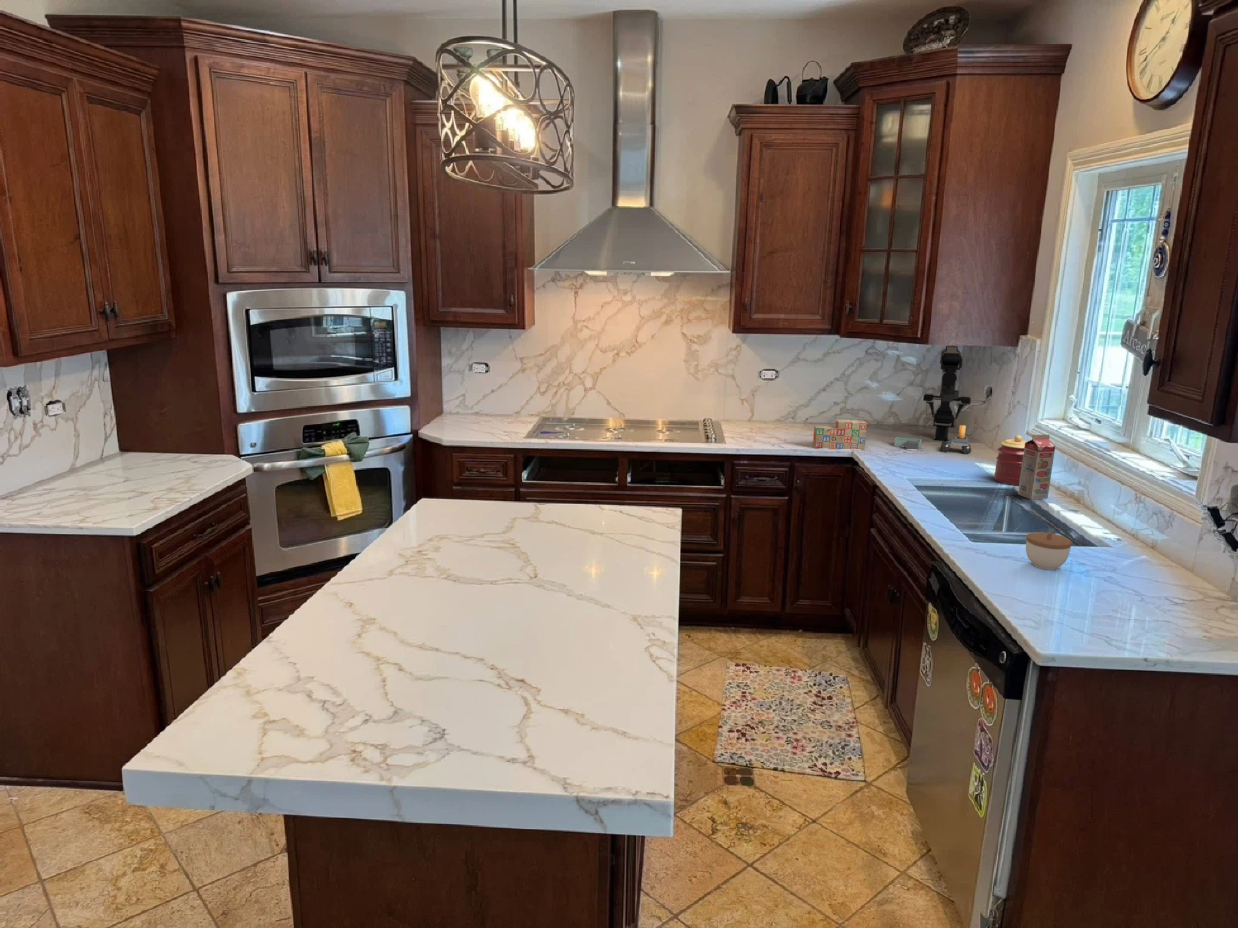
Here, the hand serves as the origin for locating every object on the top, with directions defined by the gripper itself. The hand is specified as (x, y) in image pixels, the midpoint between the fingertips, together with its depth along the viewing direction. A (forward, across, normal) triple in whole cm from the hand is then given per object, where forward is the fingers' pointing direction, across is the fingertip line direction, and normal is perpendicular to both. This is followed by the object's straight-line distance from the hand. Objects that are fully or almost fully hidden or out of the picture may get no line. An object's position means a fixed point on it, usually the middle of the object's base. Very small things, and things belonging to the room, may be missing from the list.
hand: (944, 418), depth 353 cm
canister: (+15, +25, -44) cm, 53 cm away
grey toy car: (+15, +6, +3) cm, 16 cm away
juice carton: (+15, +30, -64) cm, 72 cm away
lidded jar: (+15, +26, -140) cm, 143 cm away
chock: (+15, -12, -1) cm, 19 cm away
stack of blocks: (+15, -42, -12) cm, 46 cm away
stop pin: (+10, +8, +3) cm, 13 cm away
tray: (+15, -14, +6) cm, 21 cm away
